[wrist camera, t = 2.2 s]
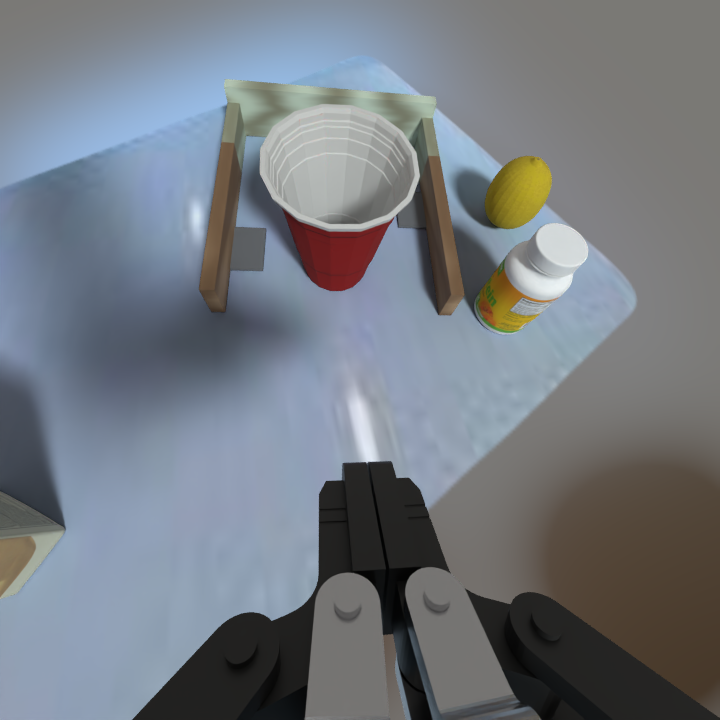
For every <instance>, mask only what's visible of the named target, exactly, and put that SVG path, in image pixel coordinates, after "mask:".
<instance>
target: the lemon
mask: <svg viewBox="0 0 720 720" xmlns="http://www.w3.org/2000/svg"><path fill="white" fill-rule="evenodd" d="M551 180H552V178H551V173H550V170H549V168H548V166H547V165H546V163H545V162H544V161H543V160H542V159H541V158H539V157H534V156H524V157H519V158H517V159H514V160H512V161H510V162H509V163H508V164H506V165H505V166H504V167H503V168H502V169H501V170H500V171H499V172H498V174H497V175H496V176H495V178H494V179H493V181H492V183H491V184H490V186H489V188H488V191H487V194H486V198H485V211H486V214H487V217H488V218H489V220H490V221H491V222H492V223H493V224H494V225H496V226H497V227H500V228H503V229H514V228H517V227H520V226H523V225H524V224H526V223H527V222H529V221H530V220H531V219H533V218H534V217H535V215H536V214H537V213H538V212H539V211H540V209H541V208H542V206H543V205H544V203H545V201H546V199H547V197H548V194H549V191H550V188H551V182H552V181H551Z"/></svg>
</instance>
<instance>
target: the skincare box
mask: <svg viewBox="0 0 720 720" xmlns="http://www.w3.org/2000/svg"><path fill="white" fill-rule="evenodd" d="M64 532H65V528H64V527H62V526H61V525H59V524H58V523H56V522H54V521H53V520H51V519H49V518H48V517H46V516H45V515H43V514H41V513H39V512H38V511H36V510H34V509H32V508H31V507H29V506H27V505H25V504H24V503H22V502H20V501H18V500H16V499H14V498H12V497H11V496H9V495H7V494H5V493H3V492H1V491H0V599H2V598H5V597H8V596H12V595H15V594H17V593H18V592H19V590H20V589H21V588H22V587H23V585H24V584H25V583H26V582H27V580H28V579H29V578H30V577H31V575H32V574H33V573H34V572H35V570H36V569H37V568H38V567H39V565H40V564H41V563H42V561H43V560H44V559H45V558H46V556H47V555H48V554H49V552H50V551H51V550H52V548H53V547H54V546H55V544H56V543H57V542H58V541H59V539H60V538H61V536H62V535H63V534H64Z"/></svg>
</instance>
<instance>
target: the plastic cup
mask: <svg viewBox="0 0 720 720" xmlns="http://www.w3.org/2000/svg"><path fill="white" fill-rule="evenodd" d="M260 175H261V177H262V179H263V181H264V183H265V185H266V187H267V189H268V191H269V193H270V194H271V196H272V198H273V200H274V202H275V203H277V204H278V205H279V206H280V207H282V209H283V211H284V214H285V217H286V219H287V222H288V225H289V228H290V231H291V234H292V236H293V239H294V242H295V245H296V248H297V250H298V252H299V254H300V256H301V259H302V262H303V265H304V268H305V270H306V272H307V274H308V276H309V277H310V279H311V280H312V281H313V282H314V283H315V284H316V285H318V286H319V287H321V288H324V289H327V290H330V291H343V290H346V289H349V288H351V287H353V286H354V285H356V284H357V283H358V282H359V281H360V280H361V278H362V277H363V276H364V274H365V271H366V269H367V267H368V265H369V263H370V262H371V261H372V259H373V257H374V255H375V253H376V251H377V249H378V247H379V245H380V242H381V240H382V238H383V236H384V234H385V232H386V230H387V228H388V226H389V225H390V224H391V223H392V221H393V219H394V217H395V216H396V215H397V214H398V213H399V212H400V211H401V210H402V209H403V208H404V207H406V206H407V205H408V204H409V203H410V201H411V200H412V197H413V195H414V192H415V189H416V186H417V184H418V181H419V178H420V173H419V166H418V160H417V153H416V151H415V150H414V148H413V147H412V145H411V144H410V142H409V141H408V139H407V138H406V136H405V135H404V133H403V132H402V131H401V130H400V129H399V128H397V127H396V126H395V125H393V124H392V123H390V122H389V121H388V120H386V119H385V118H383V117H382V116H381V115H379V114H376V113H373V112H370V111H367V110H364V109H361V108H358V107H355V106H353V105H334V104H320V105H317V106H313V107H309V108H305V109H302V110H298V111H294V112H293V113H292V114H290V115H289V116H287V117H286V118H284V119H283V120H282V121H280V122H279V123H277V124H276V125H274V126H273V127H272V129H271V131H270V132H269V134H268V136H267V137H266V139H265V141H264V143H263V144H262V146H261V148H260Z"/></svg>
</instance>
